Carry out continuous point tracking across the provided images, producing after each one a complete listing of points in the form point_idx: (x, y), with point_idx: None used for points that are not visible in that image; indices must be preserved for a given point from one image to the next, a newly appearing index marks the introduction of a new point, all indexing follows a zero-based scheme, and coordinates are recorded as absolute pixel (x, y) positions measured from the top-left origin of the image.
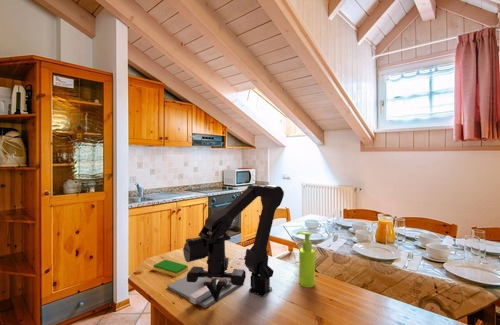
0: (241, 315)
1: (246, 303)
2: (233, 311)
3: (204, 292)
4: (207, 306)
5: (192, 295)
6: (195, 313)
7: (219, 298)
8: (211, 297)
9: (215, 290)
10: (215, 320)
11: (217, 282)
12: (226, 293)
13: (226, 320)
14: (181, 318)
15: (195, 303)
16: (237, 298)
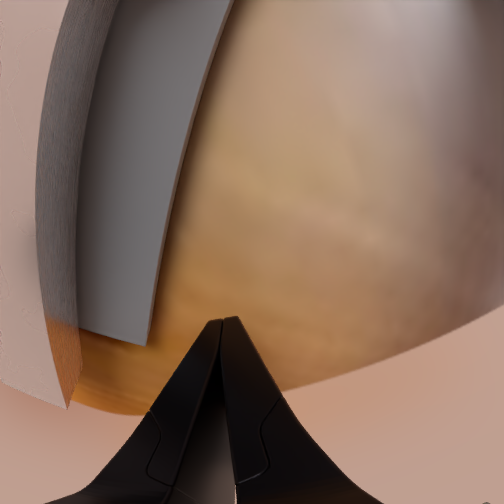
0: (450, 299)
1: (479, 148)
2: (396, 285)
3: (42, 337)
4: (151, 313)
5: (19, 386)
6: (132, 377)
7: (181, 159)
8: (102, 227)
9: (218, 451)
10: (295, 388)
11: (6, 20)
12: (220, 32)
13: (363, 367)
14: (105, 410)
15: (78, 372)
16: (387, 75)
